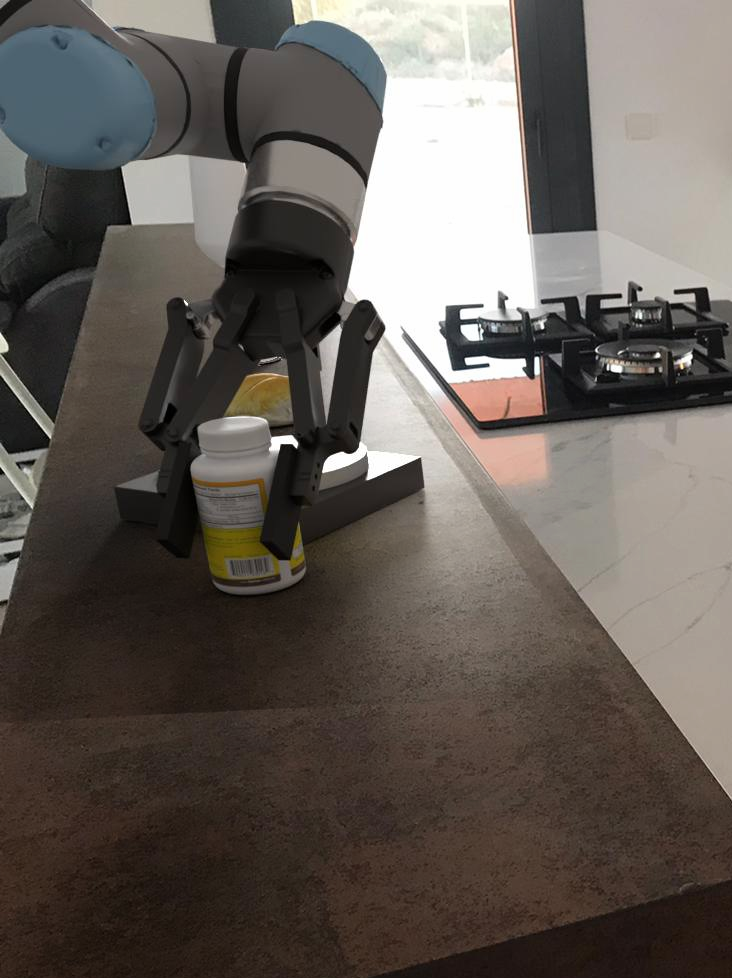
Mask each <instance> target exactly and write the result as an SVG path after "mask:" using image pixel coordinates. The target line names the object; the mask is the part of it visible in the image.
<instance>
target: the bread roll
mask: <svg viewBox="0 0 732 978" xmlns="http://www.w3.org/2000/svg"><path fill="white" fill-rule="evenodd" d="M242 416H248V417H259V418H263V419H265V420H266V421H267V422H268V425H269V428H278V427H284V426H285V427H286V426H289V425H290V426H291V425H294V423H293V414H292V405H291V396H290V387H289V378H288V375H281V374H277V373H255V374H254V373H253V374H249V375H247V376H246V377H245V379H244V381H243V383H242V384H241V386H240V388H239V390H238V392H237V393H236V395H235V397H234V399H233V400H232V402H231V404H230V406H229V407H228V409H227V411H226V413H225V414H224V416H223V418H228V417H242Z"/></svg>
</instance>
